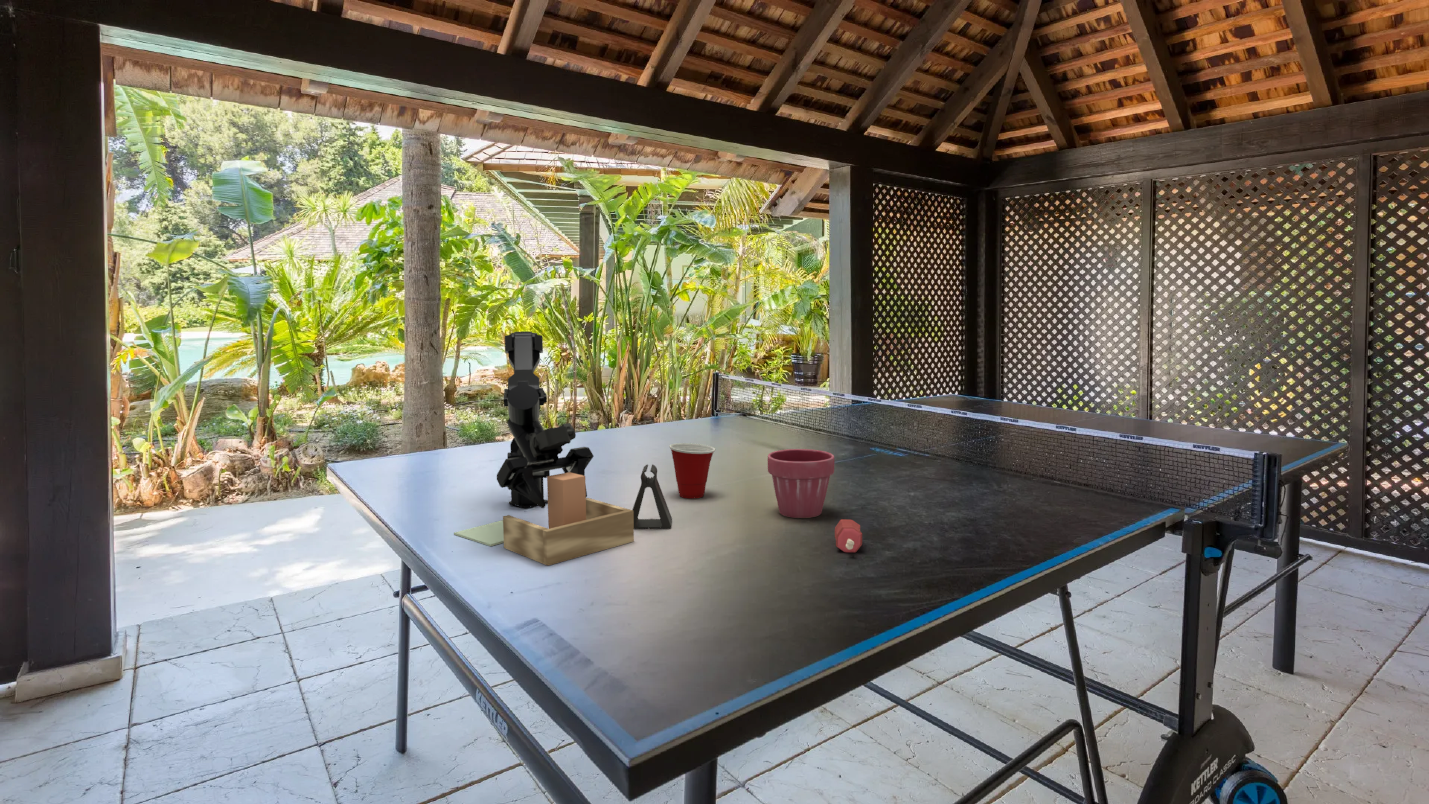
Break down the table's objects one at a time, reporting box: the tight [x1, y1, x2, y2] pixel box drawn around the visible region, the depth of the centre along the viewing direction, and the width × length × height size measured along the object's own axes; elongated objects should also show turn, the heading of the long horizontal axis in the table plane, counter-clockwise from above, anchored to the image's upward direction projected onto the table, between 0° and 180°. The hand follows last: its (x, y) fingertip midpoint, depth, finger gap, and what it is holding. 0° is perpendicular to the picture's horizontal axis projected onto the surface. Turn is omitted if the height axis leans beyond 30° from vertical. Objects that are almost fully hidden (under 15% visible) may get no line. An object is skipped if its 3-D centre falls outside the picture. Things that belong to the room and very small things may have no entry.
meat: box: [834, 518, 863, 554], centre depth 141 cm, size 12×5×5 cm, turn 173°
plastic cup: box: [669, 442, 716, 499], centre depth 180 cm, size 11×11×12 cm
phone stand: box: [631, 463, 673, 530], centre depth 156 cm, size 9×6×12 cm, turn 91°
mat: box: [453, 519, 504, 547], centre depth 151 cm, size 12×12×1 cm
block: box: [546, 472, 587, 529], centre depth 143 cm, size 5×5×13 cm
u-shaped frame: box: [502, 497, 635, 566], centre depth 143 cm, size 14×19×6 cm
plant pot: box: [767, 448, 835, 519], centre depth 165 cm, size 14×14×13 cm
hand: (565, 502), depth 143 cm, fingers open, 9 cm apart
